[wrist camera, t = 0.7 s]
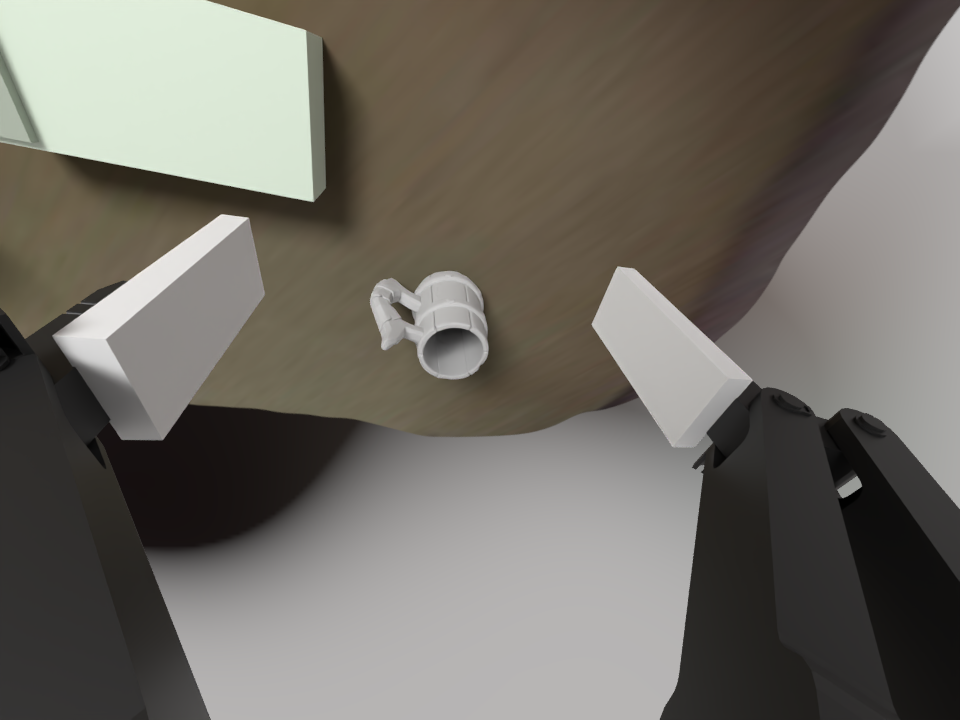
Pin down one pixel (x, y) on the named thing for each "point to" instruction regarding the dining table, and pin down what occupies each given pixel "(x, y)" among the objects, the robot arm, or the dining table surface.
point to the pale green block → (167, 90)
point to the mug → (436, 322)
